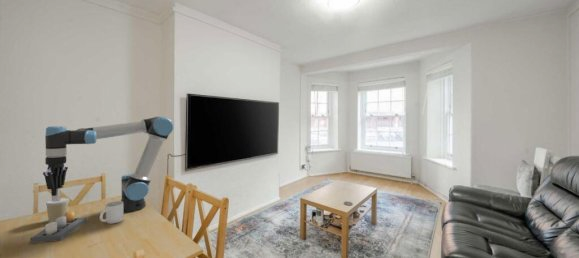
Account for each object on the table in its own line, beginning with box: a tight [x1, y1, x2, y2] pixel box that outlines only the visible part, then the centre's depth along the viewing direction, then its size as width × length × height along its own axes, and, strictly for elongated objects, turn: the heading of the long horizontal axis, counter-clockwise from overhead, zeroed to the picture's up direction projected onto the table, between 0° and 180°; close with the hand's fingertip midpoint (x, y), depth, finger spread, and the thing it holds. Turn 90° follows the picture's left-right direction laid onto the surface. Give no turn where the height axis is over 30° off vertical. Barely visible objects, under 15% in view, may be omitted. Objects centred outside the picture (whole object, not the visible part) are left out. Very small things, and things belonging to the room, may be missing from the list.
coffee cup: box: [45, 197, 70, 223], centre depth 131 cm, size 9×9×12 cm
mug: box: [99, 200, 125, 225], centre depth 131 cm, size 12×8×10 cm
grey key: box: [55, 216, 66, 229], centre depth 120 cm, size 4×4×5 cm
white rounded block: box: [44, 222, 57, 235], centre depth 113 cm, size 4×4×5 cm
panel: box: [30, 217, 87, 244], centre depth 120 cm, size 12×20×2 cm, turn 14°
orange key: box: [65, 210, 76, 223], centre depth 126 cm, size 4×4×5 cm
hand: (55, 200), depth 117 cm, fingers closed
